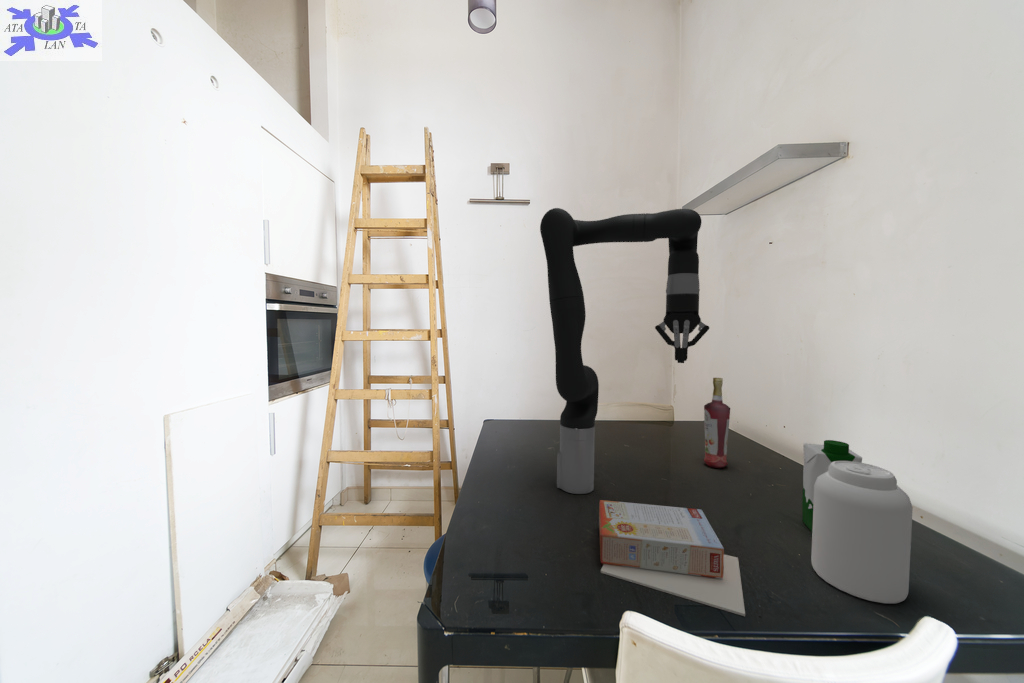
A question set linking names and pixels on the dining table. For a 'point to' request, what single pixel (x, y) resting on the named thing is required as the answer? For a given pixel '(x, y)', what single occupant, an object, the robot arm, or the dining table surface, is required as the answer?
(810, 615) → the dining table surface
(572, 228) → the robot arm
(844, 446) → the milk carton
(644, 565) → the cracker box
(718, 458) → the liquor
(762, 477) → the dining table surface
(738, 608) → the mat
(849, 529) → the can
